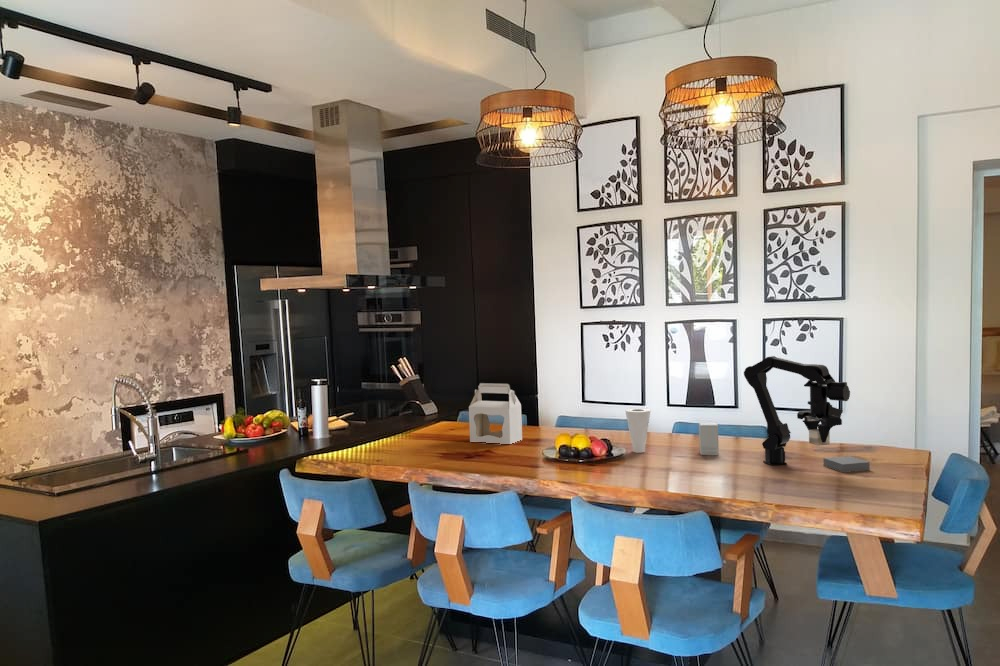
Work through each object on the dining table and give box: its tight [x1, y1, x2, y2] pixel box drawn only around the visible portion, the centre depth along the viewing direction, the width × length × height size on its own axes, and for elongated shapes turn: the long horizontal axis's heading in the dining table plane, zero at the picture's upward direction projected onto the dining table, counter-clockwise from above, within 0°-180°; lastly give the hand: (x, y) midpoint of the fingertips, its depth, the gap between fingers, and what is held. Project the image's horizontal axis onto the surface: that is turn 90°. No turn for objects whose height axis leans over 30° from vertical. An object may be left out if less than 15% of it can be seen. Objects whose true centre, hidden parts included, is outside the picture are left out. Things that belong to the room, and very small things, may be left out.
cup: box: [625, 407, 651, 454], centre depth 304 cm, size 11×11×18 cm
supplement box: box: [698, 422, 720, 456], centre depth 296 cm, size 7×7×13 cm
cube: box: [808, 428, 831, 447], centre depth 260 cm, size 5×5×5 cm
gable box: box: [468, 382, 523, 445], centre depth 338 cm, size 22×13×28 cm, turn 63°
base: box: [823, 455, 871, 473], centre depth 263 cm, size 11×11×3 cm
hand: (819, 441), depth 261 cm, fingers closed on cube, 5 cm apart
